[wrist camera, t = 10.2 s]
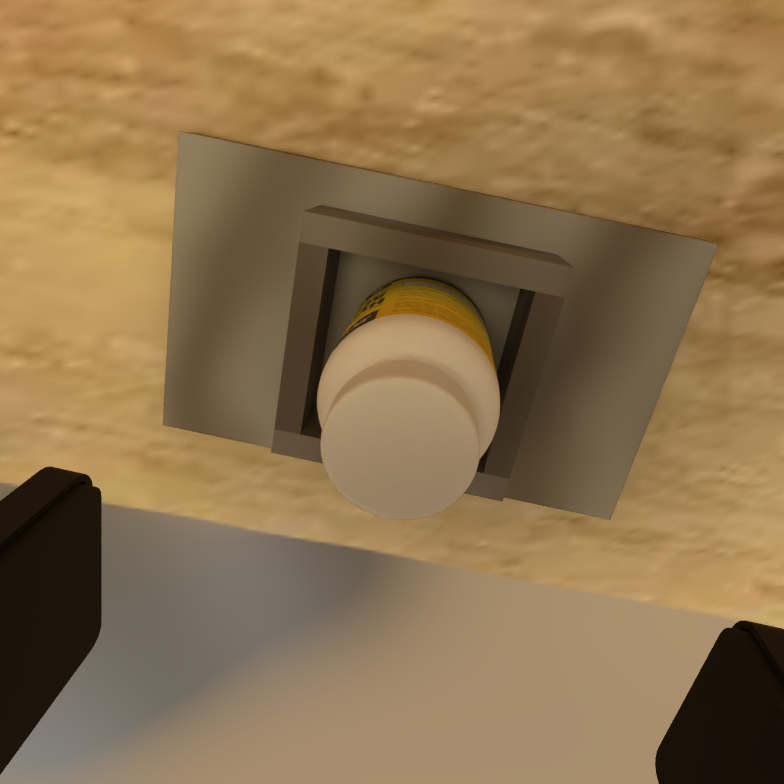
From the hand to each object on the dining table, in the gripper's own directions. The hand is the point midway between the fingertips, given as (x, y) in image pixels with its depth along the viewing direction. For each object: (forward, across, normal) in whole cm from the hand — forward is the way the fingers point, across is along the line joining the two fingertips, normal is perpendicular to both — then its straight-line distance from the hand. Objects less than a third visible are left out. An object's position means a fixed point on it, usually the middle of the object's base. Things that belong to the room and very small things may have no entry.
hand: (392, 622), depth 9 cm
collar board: (+17, +1, +1) cm, 17 cm away
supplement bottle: (+16, 0, 0) cm, 16 cm away
